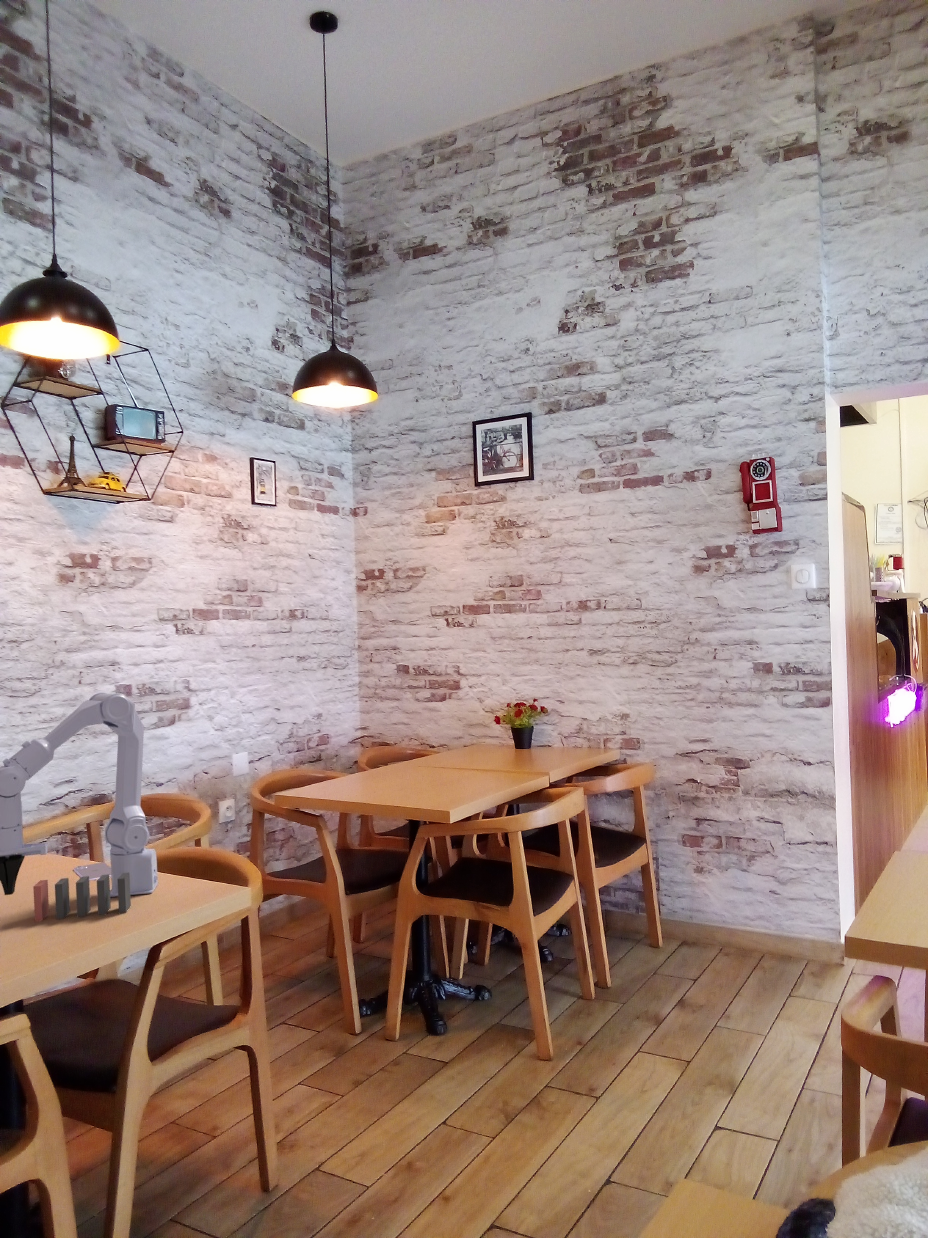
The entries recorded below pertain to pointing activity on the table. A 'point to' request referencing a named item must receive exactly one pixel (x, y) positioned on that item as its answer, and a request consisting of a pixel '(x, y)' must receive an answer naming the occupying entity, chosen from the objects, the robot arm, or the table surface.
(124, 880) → the domino
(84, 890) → the domino
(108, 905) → the domino
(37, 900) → the red domino
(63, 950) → the table surface
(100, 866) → the mobile phone
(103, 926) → the table surface
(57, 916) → the domino
